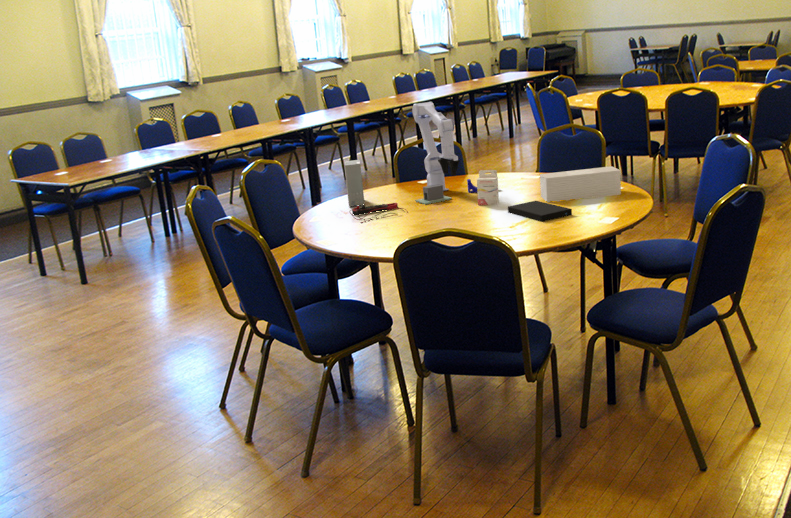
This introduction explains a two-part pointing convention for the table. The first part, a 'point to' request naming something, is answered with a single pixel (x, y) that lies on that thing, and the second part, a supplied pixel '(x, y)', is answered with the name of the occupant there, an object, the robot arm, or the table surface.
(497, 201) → the ink cartridge box
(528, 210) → the external hard drive
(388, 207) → the digital clamp meter
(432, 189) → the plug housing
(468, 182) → the cable clip
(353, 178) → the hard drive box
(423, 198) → the board
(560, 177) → the long white block
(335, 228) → the table surface
